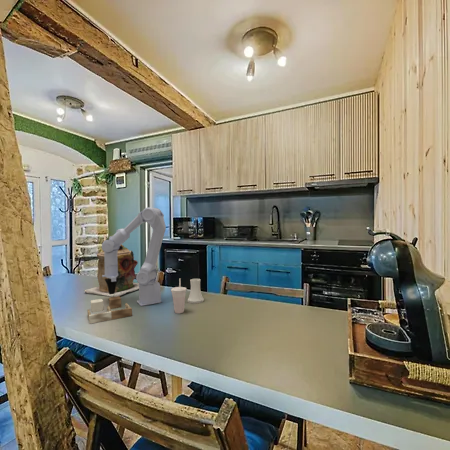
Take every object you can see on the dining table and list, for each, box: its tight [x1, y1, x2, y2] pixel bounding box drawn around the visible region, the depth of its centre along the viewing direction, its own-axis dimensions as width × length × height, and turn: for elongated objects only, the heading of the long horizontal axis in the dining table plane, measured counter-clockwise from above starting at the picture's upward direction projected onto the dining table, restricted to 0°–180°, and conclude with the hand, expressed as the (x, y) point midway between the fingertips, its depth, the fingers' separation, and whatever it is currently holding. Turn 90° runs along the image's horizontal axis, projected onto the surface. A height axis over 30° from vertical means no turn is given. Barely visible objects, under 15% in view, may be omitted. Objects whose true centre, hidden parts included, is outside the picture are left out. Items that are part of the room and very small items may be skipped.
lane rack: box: [86, 302, 133, 325], centre depth 111 cm, size 15×10×3 cm, turn 120°
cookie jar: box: [83, 233, 139, 298], centre depth 151 cm, size 25×25×32 cm
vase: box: [187, 278, 205, 304], centre depth 129 cm, size 8×8×10 cm
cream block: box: [90, 298, 104, 313], centre depth 118 cm, size 4×4×4 cm
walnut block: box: [108, 295, 122, 310], centre depth 122 cm, size 4×4×4 cm
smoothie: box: [170, 278, 188, 314], centre depth 114 cm, size 6×6×14 cm
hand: (111, 293), depth 129 cm, fingers closed
